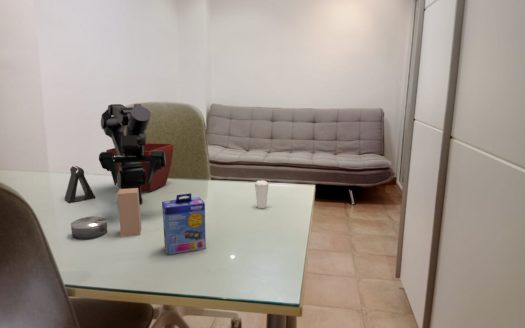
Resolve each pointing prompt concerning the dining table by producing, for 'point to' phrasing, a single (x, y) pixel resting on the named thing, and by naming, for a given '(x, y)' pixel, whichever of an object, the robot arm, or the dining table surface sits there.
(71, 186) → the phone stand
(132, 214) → the tan rectangular block
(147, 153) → the plant pot
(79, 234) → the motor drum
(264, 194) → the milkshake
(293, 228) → the dining table surface
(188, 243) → the ink cartridge box
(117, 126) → the robot arm
